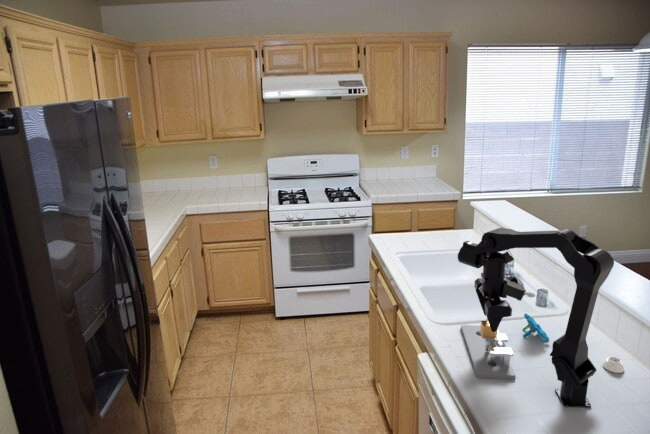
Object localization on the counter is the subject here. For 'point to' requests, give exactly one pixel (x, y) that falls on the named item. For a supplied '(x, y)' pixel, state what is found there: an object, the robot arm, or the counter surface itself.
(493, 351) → the divider frame
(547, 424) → the counter surface
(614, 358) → the white jar
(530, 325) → the gear
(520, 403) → the counter surface
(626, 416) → the counter surface
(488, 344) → the sliding leg
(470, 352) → the bolt plate
